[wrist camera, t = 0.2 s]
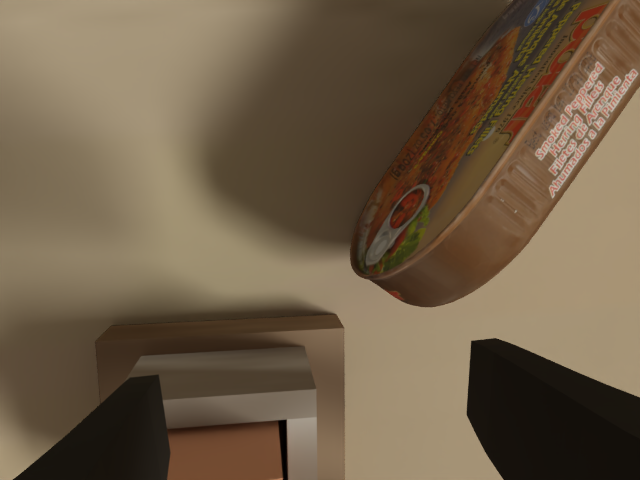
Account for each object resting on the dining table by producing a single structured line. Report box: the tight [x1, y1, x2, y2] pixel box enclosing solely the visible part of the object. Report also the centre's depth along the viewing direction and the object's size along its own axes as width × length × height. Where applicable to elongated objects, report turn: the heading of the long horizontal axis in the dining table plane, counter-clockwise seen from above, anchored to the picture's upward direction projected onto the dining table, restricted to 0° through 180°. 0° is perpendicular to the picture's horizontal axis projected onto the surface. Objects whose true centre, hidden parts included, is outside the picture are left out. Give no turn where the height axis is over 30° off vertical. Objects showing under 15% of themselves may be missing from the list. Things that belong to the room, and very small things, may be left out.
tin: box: [350, 0, 640, 307], centre depth 17 cm, size 15×3×8 cm, turn 144°
